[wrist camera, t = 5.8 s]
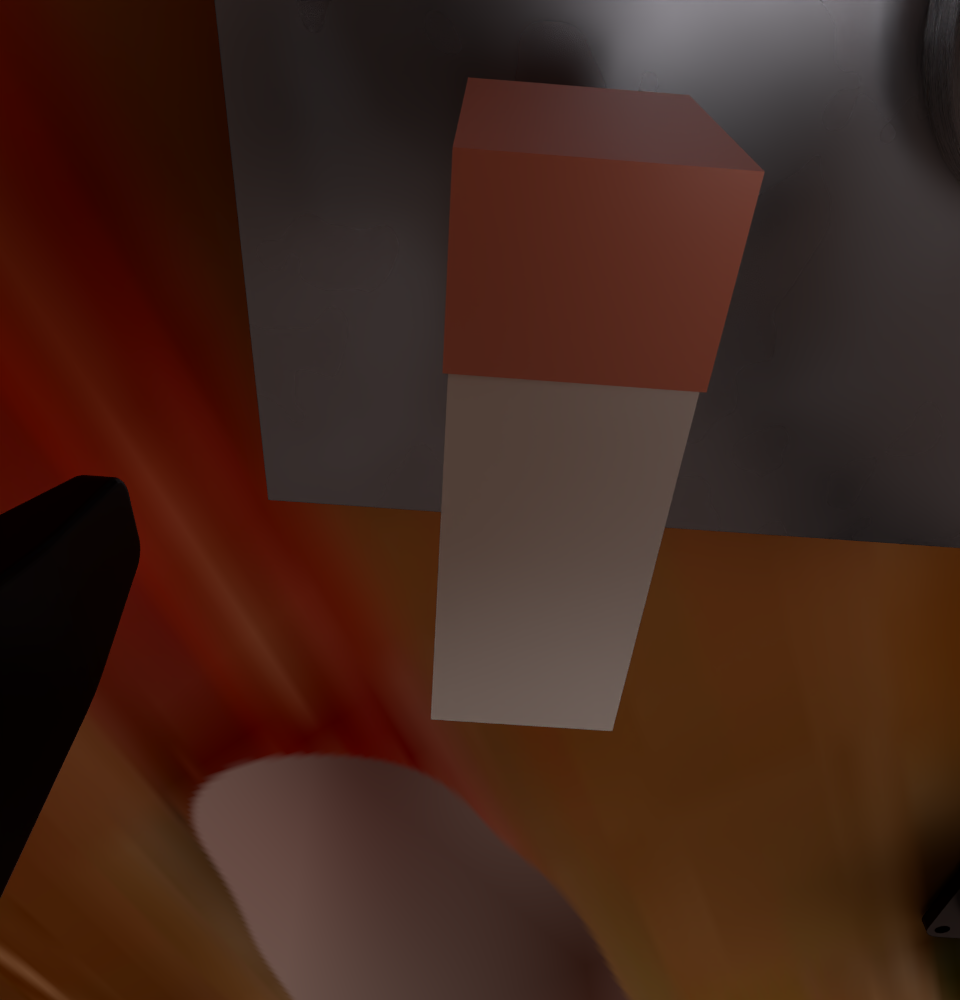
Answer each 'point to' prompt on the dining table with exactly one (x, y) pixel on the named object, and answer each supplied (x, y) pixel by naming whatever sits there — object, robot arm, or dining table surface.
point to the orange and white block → (571, 381)
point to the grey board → (761, 277)
